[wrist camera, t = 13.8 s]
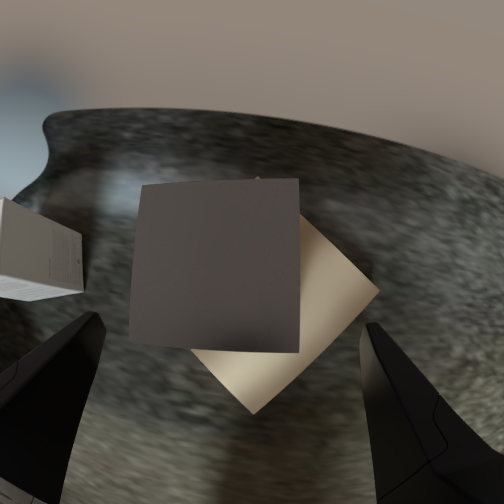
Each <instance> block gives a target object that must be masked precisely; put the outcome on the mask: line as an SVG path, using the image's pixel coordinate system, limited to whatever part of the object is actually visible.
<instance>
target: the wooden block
mask: <svg viewBox="0 0 504 504" xmlns="http://www.w3.org/2000/svg"><path fill="white" fill-rule="evenodd" d="M255 179H261V178H259V177H258V176H257V177H256V178H255ZM379 291H380V290H379V289H378V288H377V287H376V286H375V285H374V284H373V283H372V282H371V281H370V280H369V279H368V278H367V277H366V276H365V275H364V274H363V273H362V272H361V271H360V270H359V269H358V268H357V267H356V266H354V265H353V264H352V263H351V262H350V261H349V260H348V259H347V258H346V257H345V256H344V255H343V254H342V253H341V252H340V251H339V250H338V249H337V248H336V247H335V246H334V245H333V244H332V243H331V242H330V241H329V240H328V239H326V238H325V237H324V236H323V235H322V234H321V233H320V232H319V231H318V230H317V229H316V228H315V227H314V226H313V225H312V224H310V223H309V222H308V221H307V220H306V219H305V218H304V217H303V216H302V215H301V214H300V349H299V353H256V352H232V351H214V350H199V349H191V351H192V352H193V353H194V354H195V355H196V356H197V357H198V358H199V359H200V361H201V362H202V363H203V364H204V365H205V366H206V367H207V368H208V369H209V370H210V371H211V372H212V373H213V374H214V376H215V377H216V378H217V379H218V380H219V381H220V382H221V383H222V384H223V385H224V386H225V387H226V388H227V389H228V390H229V391H230V392H231V393H232V394H233V395H234V396H235V397H236V398H237V399H238V400H239V401H240V402H241V403H242V404H243V405H244V406H245V407H246V408H247V409H248V410H249V411H250V412H251V413H252V414H253V415H254V414H255V413H256V412H257V411H259V410H260V409H261V408H262V407H263V406H264V405H266V404H267V403H268V402H269V401H270V400H271V399H272V398H274V397H275V396H276V395H277V394H278V393H279V392H280V391H282V390H283V389H284V388H285V387H286V386H287V385H288V384H289V383H290V382H291V381H293V380H294V379H295V378H296V377H297V376H298V375H299V374H300V373H301V372H302V371H303V370H304V369H305V368H306V367H307V366H309V365H310V364H311V363H312V362H313V361H314V360H315V359H316V358H317V357H318V356H319V355H320V354H321V353H322V352H323V351H324V350H325V349H326V348H327V347H328V346H329V345H330V344H331V343H332V342H333V341H334V340H335V339H336V338H337V337H338V336H339V335H340V334H341V333H342V332H343V331H344V329H345V328H346V327H347V326H348V325H349V324H350V323H351V322H352V321H353V320H354V319H355V318H356V317H357V316H358V315H359V313H360V312H361V311H362V310H363V309H364V308H365V307H366V306H367V305H368V304H369V302H370V301H371V300H372V299H373V298H374V297H375V296H376V295H377V293H378V292H379Z"/></svg>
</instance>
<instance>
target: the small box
mask: <svg viewBox="0 0 504 504" xmlns="http://www.w3.org/2000/svg"><path fill="white" fill-rule="evenodd" d="M81 292H84V286H83V267H82V234H80V233H78V232H76V231H74V230H72V229H69V228H67V227H65V226H63V225H61V224H59V223H56V222H54V221H52V220H50V219H48V218H46V217H44V216H42V215H40V214H37V213H36V212H33V211H31V210H29V209H27V208H25V207H23V206H21V205H19V204H17V203H15V202H13V201H11V200H9V199H7V198H5V197H3V198H2V199H0V297H4V298H10V299H16V300H23V301H33V300H39V299H45V298H51V297H57V296H63V295H69V294H75V293H81Z"/></svg>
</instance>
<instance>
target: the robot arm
mask: <svg viewBox="0 0 504 504" xmlns="http://www.w3.org/2000/svg"><path fill="white" fill-rule="evenodd" d="M105 336H106V328H105V325H104V323H103V321H102V319H101V317H100V315H99V313H97V312H92V311H88V312H86V313H84V314H83V315H81V316H80V317H79V318H77V319H76V320H74V321H73V322H71V323H70V324H69V325H67V326H66V327H64V328H63V329H61V330H60V331H59V332H57V333H56V334H54V335H53V336H52V337H50V338H49V339H47V340H46V341H45V342H43V343H42V344H40V345H39V346H38V347H36V348H35V349H34V350H32V351H31V352H29V353H28V354H27V355H25V356H24V357H23V358H21V359H20V360H19V361H17V362H16V363H14V364H13V365H12V366H10V367H9V368H8V369H6V370H5V371H4V372H2V373H1V374H0V504H32V503H33V500H34V497H35V498H37V499H39V500H41V501H43V502H45V503H47V504H59V503H60V498H61V493H62V489H63V484H64V480H65V476H66V471H67V467H68V462H69V459H70V455H71V451H72V448H73V444H74V440H75V437H76V433H77V430H78V427H79V423H80V420H81V417H82V413H83V410H84V407H85V404H86V401H87V398H88V395H89V392H90V389H91V386H92V383H93V380H94V377H95V374H96V371H97V367H98V364H99V360H100V356H101V352H102V348H103V344H104V340H105ZM359 350H360V365H361V382H362V392H363V399H364V405H365V411H366V417H367V424H368V431H369V438H370V445H371V453H372V461H373V469H374V479H375V488H376V499H377V504H504V455H503V454H501V453H499V452H497V451H495V450H494V449H492V448H491V447H490V446H489V445H488V444H487V443H486V442H485V441H484V440H483V439H482V438H481V437H480V436H479V435H477V434H476V433H475V432H474V431H473V430H472V429H471V428H470V427H469V426H468V425H467V424H466V423H465V422H464V421H463V420H462V419H461V418H460V417H459V416H458V415H457V413H456V412H455V411H454V410H453V409H452V408H451V407H450V406H449V404H448V403H447V402H446V401H445V400H444V398H443V397H442V396H441V395H439V393H438V391H437V390H436V389H435V388H434V387H433V385H432V384H431V383H430V382H429V381H428V380H427V378H426V377H425V376H424V375H423V374H422V373H421V371H420V370H419V369H418V368H417V367H416V366H415V364H414V363H413V362H412V361H411V360H410V359H409V358H408V356H407V355H406V354H405V353H404V352H403V351H402V350H401V348H400V347H399V346H398V345H397V344H396V343H395V342H394V341H393V339H392V338H391V337H390V336H389V335H388V334H387V333H386V332H385V330H384V329H383V328H382V327H381V326H380V325H379V324H378V323H376V322H371V323H365V324H364V326H363V330H362V333H361V337H360V342H359Z"/></svg>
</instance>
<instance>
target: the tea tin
mask: <svg viewBox="0 0 504 504" xmlns="http://www.w3.org/2000/svg"><path fill="white" fill-rule="evenodd" d="M129 342H130V343H138V344H146V345H155V346H165V347H175V348H187V349H199V350H214V351H232V352H256V353H299V349H300V204H299V178H281V179H237V180H213V181H194V182H178V183H164V184H151V185H142V190H141V197H140V204H139V211H138V219H137V227H136V236H135V245H134V256H133V267H132V280H131V295H130V316H129Z"/></svg>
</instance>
